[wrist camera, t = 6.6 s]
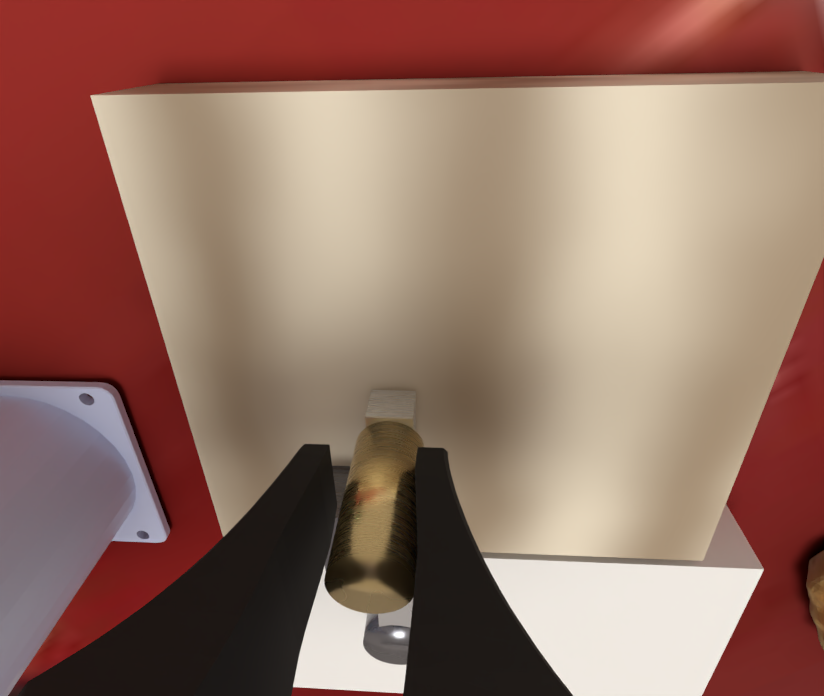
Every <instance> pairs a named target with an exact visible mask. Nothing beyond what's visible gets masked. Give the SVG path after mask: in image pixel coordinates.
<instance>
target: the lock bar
mask: <svg viewBox="0 0 824 696" xmlns="http://www.w3.org/2000/svg"><path fill="white" fill-rule="evenodd" d="M365 420H366V428H365V429H363V430H362V431H361V433H360V434H359V436H358V438H357V440H356V445H355V449H354V453H353V458H352V462H351V466H350V470H349V475H348V479H347V483H346V488H345V492H344V496H343V500H342V505H341V509H340V513H339V518H338V522H337V526H336V531H335V535H334V539H333V543H332V548H331V552H330V556H329V561H328V565H327V569H326V573H325V578H324V584H325V588H326V590H327V592H328V593H329V595H330V596H331V597H332V598H333V599H334V600H335V601H336V602H338V603H339V604H341V605H343V606H344V607H347V608H349V609H351V610H354V611H358V612H362V613H367V618H366V625H365V632H364V638H363V646H364V648H365V650H366V651H367V652H368V654H370V655H371V656H372V657H374V658H375V659H377V660H380V661H382V662H385V663H389V664H396V665H407V656H408V646H409V637H410V627H411V617H412V606H413V596H414V585H415V574H416V562H417V526H416V496H415V464H416V456H417V449H418V447H424V443H423V440H422V438H421V437H420V435H419V434H418V433H417V432H416V391H400V390H371V394H370V398H369V403H368V407H367V412H366V416H365Z"/></svg>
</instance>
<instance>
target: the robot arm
mask: <svg viewBox="0 0 824 696" xmlns="http://www.w3.org/2000/svg"><path fill="white" fill-rule="evenodd" d="M87 394H89V395H90V396H92V397H93V398H91V397H89V396H88V395H87ZM415 496H416V526H417V562H416V574H415V585H414V596H413V606H412V617H411V627H410V637H409V646H408V656H407V665H406V674H405V683H404V692H403V696H573V695H572V693H571V692H570V691H569V690H568V688H567V687H566V686H565V684H564V683H563V682H562V681H561V679H560V678H559V677H558V675H557V674H556V673H555V671H554V670H553V669H552V667H551V666H550V665H549V663H548V662H547V661H546V659H545V658H544V656H543V655H542V654H541V652H540V651H539V650H538V648H537V647H536V645H535V644H534V642H533V641H532V639H531V638H530V636H529V635H528V633H527V632H526V630H525V629H524V627H523V626H522V624H521V623H520V621H519V620H518V618H517V617H516V615H515V613H514V612H513V610H512V609H511V607H510V606H509V604H508V602H507V600H506V599H505V597H504V595H503V594H502V592H501V590H500V589H499V587H498V585H497V583H496V581H495V579H494V578H493V576H492V574H491V572H490V570H489V568H488V566H487V564H486V562H485V560H484V558H483V556H482V554H481V552H480V550H479V548H478V546H477V544H476V541H475V539H474V537H473V535H472V533H471V530H470V528H469V525H468V523H467V521H466V518H465V515H464V513H463V510H462V507H461V505H460V502H459V499H458V496H457V493H456V490H455V486H454V483H453V479H452V476H451V471H450V467H449V460H448V452H447V451H446V450H445V449H444V448H431V447H418V449H417V456H416V464H415ZM336 510H337V498H336V491H335V483H334V476H333V468H332V460H331V453H330V445H328V444H304V445H303V446H302V447H301V448H300V449H299V450H298V452H297V453H296V454H295V455H294V457H293V458H292V459H291V461H290V462H289V463H288V464H287V466H286V467H285V468H284V470H283V471H282V472H281V473H280V474H279V476H278V477H277V478H276V479H275V481H274V482H273V483H272V484H271V486H270V487H269V488H268V489H267V490H266V491H265V492H264V494H263V495H262V496H261V497H260V498H259V499H258V501H257V502H256V503H255V504H254V505H253V506H252V508H251V509H250V510H249V511H248V512H247V513H246V514H245V515H244V516H243V517H242V518H241V519H240V520H239V521H238V523H237V524H236V525H235V526H234V527H233V528H232V529H231V530H230V531H229V532H228V533H227V534H226V535H225V536H224V537H223V538H222V539H221V540H220V541H219V542H218V543H217V544H216V545H215V546H214V547H213V548H212V549H211V550H210V551H209V552H208V553H207V554H206V555H204V556H203V557H202V558H201V559H200V560H199V561H198V562H197V563H196V564H195V565H193V566H192V567H191V568H190V569H189V570H188V571H187V572H185V573H184V574H183V575H182V576H181V577H179V578H178V579H177V580H176V581H175V582H173V583H172V584H171V585H170V586H169V587H167V588H166V589H165V590H164V591H163V592H161V593H160V594H159V595H158V596H156V597H155V598H154V599H153V600H151V601H150V602H149V603H147V604H146V605H145V606H143V607H142V608H141V609H139V610H138V611H137V612H135V613H134V614H132V615H131V616H130V617H128V618H127V619H125V620H124V621H123V622H121V623H120V624H118V625H117V626H116V627H114V628H113V629H111V630H110V631H108V632H107V633H105V634H104V635H103V636H101V637H100V638H98V639H97V640H95V641H94V642H92V643H90V644H89V645H87V646H86V647H84V648H83V649H81V650H80V651H78V652H76V653H75V654H73V655H71V656H70V657H68V658H66V659H65V660H63V661H62V662H60V663H58V664H57V665H55V666H53V667H52V668H50V669H49V670H47V671H45V672H44V673H42V674H40V675H39V676H37V677H35V678H33V679H32V680H30V681H28V682H27V684H26V685H25V686H24V688H23V689H22V691H21V692H20V693H19V695H18V696H291V694H292V689H293V684H294V679H295V674H296V669H297V663H298V658H299V654H300V650H301V646H302V642H303V638H304V634H305V630H306V627H307V624H308V620H309V617H310V613H311V610H312V607H313V603H314V600H315V597H316V593H317V590H318V586H319V583H320V580H321V576H322V573H323V569H324V566H325V562H326V559H327V555H328V552H329V548H330V545H331V539H332V534H333V528H334V522H335V516H336ZM169 533H170V528H169V526H168V523H167V520H166V518H165V515H164V512H163V510H162V507H161V504H160V502H159V499H158V496H157V493H156V491H155V488H154V485H153V483H152V480H151V477H150V475H149V472H148V469H147V467H146V464H145V461H144V459H143V456H142V453H141V451H140V448H139V445H138V443H137V440H136V437H135V435H134V432H133V429H132V426H131V424H130V421H129V418H128V416H127V413H126V410H125V408H124V405H123V402H122V400H121V397H120V394H119V393H118V391H117V389H116V388H114V387H113V386H112V385H110V384H108V383H103V382H63V381H11V380H0V696H8V695H9V693H10V692H11V690H12V689H13V687H14V686H15V684H16V683H17V681H18V680H19V678H20V677H21V675H22V674H23V672H24V671H25V669H26V668H27V666H28V665H29V663H30V662H31V660H32V659H33V657H34V656H35V654H36V653H37V651H38V650H39V648H40V647H41V645H42V644H43V642H44V641H45V639H46V638H47V636H48V635H49V633H50V632H51V630H52V629H53V627H54V626H55V624H56V623H57V621H58V620H59V618H60V617H61V615H62V614H63V612H64V611H65V609H66V608H67V606H68V605H69V603H70V602H71V600H72V599H73V597H74V596H75V594H76V593H77V591H78V590H79V588H80V587H81V585H82V584H83V582H84V581H85V579H86V578H87V577H88V575H89V574H90V572H91V571H92V569H93V568H94V566H95V565H96V563H97V562H98V560H99V559H100V557H101V556H102V554H103V553H104V551H105V550H106V548H107V547H108V545H109V544H110V542H111V541H127V542H152V543H159V542H163V541H165V540H166V539H167V537H168V535H169Z"/></svg>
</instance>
